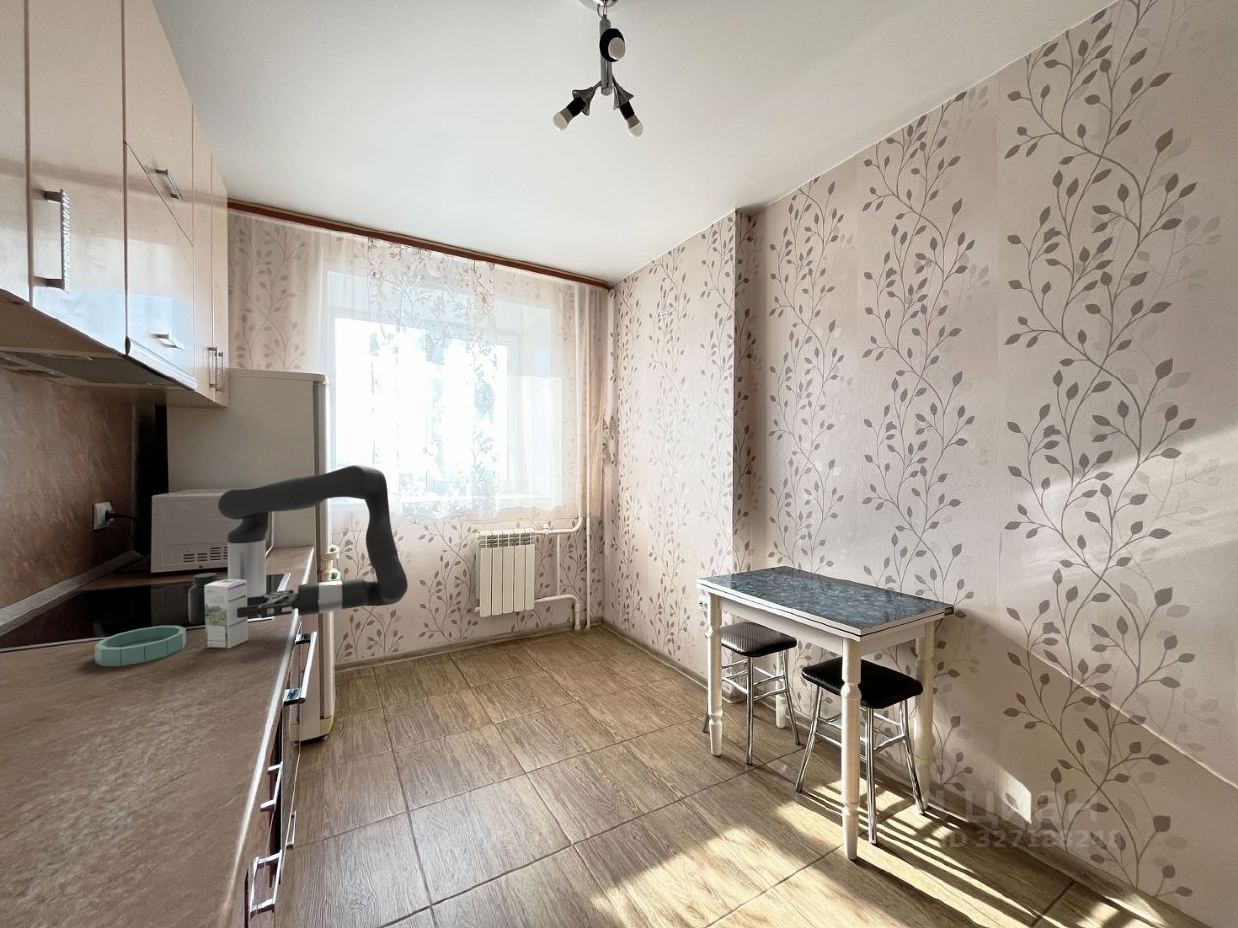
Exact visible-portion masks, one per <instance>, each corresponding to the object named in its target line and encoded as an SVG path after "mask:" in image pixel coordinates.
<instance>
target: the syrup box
mask: <svg viewBox="0 0 1238 928" xmlns="http://www.w3.org/2000/svg"><path fill="white" fill-rule="evenodd" d="M204 590H205V626H204V627H205V647H206V649H207V648H210V649H231V648H234V647H237V646H238V645H241V644H242V643H245V642H246V641H248V640H249V631H248V630H249V629H248V628H249V627H248V625H249V623H248V622H249V621H248V617H242V618H238V617H237V609H238V608H239V607H246V606H247V580H232V579H228V578H227V579H226V578H225V579H220V580H219V579H218V581H215V582H212V583H209V584H207V585H204ZM240 643H241V644H240ZM237 644H238V645H237ZM233 646H234V647H233Z"/></svg>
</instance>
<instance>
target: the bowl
mask: <svg viewBox="0 0 1238 928" xmlns="http://www.w3.org/2000/svg"><path fill="white" fill-rule="evenodd" d="M186 632H187V628H185V627H183V626H180V625H158V626H151V627H150V626H149V627H142V628H137V629H133V630H128V631H125V632H120V633H116V634H114V635H111V636H109V637H106V638H103V639H101V640H100V641H99V642H98V643H96V644H95V646H94V661H95V662H94V663H96V664H97V665H98V666H101V667H123V666H130V665H136V664H141V663H147V662H151V661H154V660H157V659H161V658H164V657H165V658H166V657H168V655H169V656H171V655H173V654H175V653H176V652H179V651H181V650H184V647H185V646H186V644H187V633H186ZM180 649H181V650H180ZM178 650H179V651H178ZM174 652H175V653H174ZM172 653H173V654H172ZM170 654H171V655H170Z"/></svg>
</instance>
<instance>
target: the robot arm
mask: <svg viewBox="0 0 1238 928" xmlns="http://www.w3.org/2000/svg"><path fill="white" fill-rule="evenodd" d="M388 494H389V493H388V484H387V479H386V476H385V474H384V473H383V472H382V471H380V470H379V469H377V468H373V467H370V466H365V465H361V464H360V465H359V464H355V465H354V464H353V465H349V466H345V467H342V468H340V469H339V468H338V469H335V470H333V471H330V472H326V473H321V474H320V473H319V474H318V473H317V474H311V475H307V476H306V475H305V476H299V477H293V478H290V479H285V480H281V481H277V482H274V483H269V484H266V485H263V486H259V487H244V488H243V487H242V488H241V487H240V488H234V489H229V490H227V491H225V492H224V493H223V494H222V495H221V496H220V498H219V499H218V503H217V509H218V511H219V513H220V514H221V515H222V516H224V517H225V518H227V519H231V520H242V521H241V523H240V525H238V526H237V527H236V528H234V529H233V530H231V531H230V532H229V533H227V579H232V580H247V606H246V607H239V608H238V609H237V617H238V618H242V617H247V618H248V617H256V616H258V617H260V619H267V618H272V617H273V618H274V617H280V616H286V615H291V614H293V610H296V609H297V615H298V616H299V617H301V616H302V617H303V616H310V615H318V614H323V613H326V614H327V613H331V612H336V611H340V610H346V609H353V608H358V607H378V606H380V607H381V606H390V605H393V604H396V603H398V602H400V601H401V600H402V599H403V597H404V596H405V594H406V593H407V591H408V588H409V587H408V586H409V584H408V579H407V576H406V575H407V574H406V573H405V570H404V567H403V565H402V563H401V561H400V559H399V553H398V549H397V546H396V541H395V538H394V535H393V530H392V525H391V517H390V515H391V514H390V508H389V507H390V504H389V495H388ZM334 498H351V499H353V498H354V499H359V500H364V502H365V503H366V506H367V509H368V514H369V515H368V516H369V517H368V518H369V519H368V524H367V529H366V533H365V546H366V550H367V554H368V558H369V563H370V566H371V568H372V569H373V570H374V571H375V576H376V580H371V581H366V580H364V579H359V578H358V579H349V580H348V579H347V580H338V581H335V580H334V581H333V580H330V581H322V582H312V583H305V584H299V585H298V587H297V593H296V592H295V591H294V589H289V590H288V589H287V590H276V591H267V572H266V571H267V567H266V565H267V564H266V563H267V559H266V553H267V552H266V534H267V532H268V530H269V518H270V517H269V516H270V512H272V513H273V512H276V513H277V512H287V511H288V512H289V511H298V510H304V509H305V510H306V509H310V508H314V507H316V506H319V505H320V504H321V503H322V502H324V501H325V500H327V499H334ZM294 592H295V593H294Z"/></svg>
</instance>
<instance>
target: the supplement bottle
mask: <svg viewBox="0 0 1238 928" xmlns="http://www.w3.org/2000/svg"><path fill="white" fill-rule="evenodd" d="M215 581H219V579H218V574H217V573H216V572H207V573H206V572H205V573H199V574H196V575H194V576H193V582H192V584H193V586H191V587H190V588H189V589H188V621H189V623H190V624H192V625H202V624H203V623H205V590H204V585H207V584H209V583H212V582H215ZM203 625H204V624H203Z"/></svg>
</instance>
